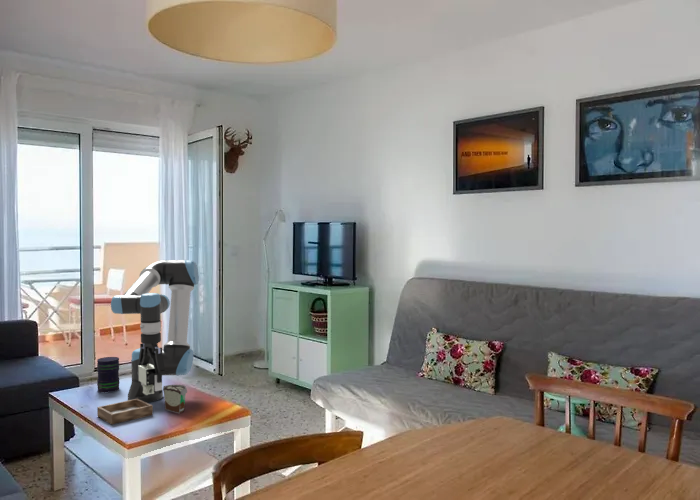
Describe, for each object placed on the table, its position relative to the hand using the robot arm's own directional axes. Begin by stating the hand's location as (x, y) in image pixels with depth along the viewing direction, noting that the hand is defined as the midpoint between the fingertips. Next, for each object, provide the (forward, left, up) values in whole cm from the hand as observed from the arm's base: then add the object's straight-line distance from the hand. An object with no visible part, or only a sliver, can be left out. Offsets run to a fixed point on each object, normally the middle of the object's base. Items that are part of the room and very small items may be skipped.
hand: (151, 387), depth 226 cm
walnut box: (+4, -16, -14) cm, 21 cm away
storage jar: (-8, -60, -14) cm, 62 cm away
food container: (-16, -8, -14) cm, 23 cm away
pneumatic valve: (+1, -1, -3) cm, 3 cm away
